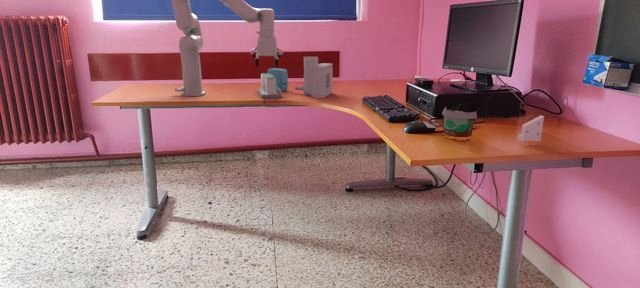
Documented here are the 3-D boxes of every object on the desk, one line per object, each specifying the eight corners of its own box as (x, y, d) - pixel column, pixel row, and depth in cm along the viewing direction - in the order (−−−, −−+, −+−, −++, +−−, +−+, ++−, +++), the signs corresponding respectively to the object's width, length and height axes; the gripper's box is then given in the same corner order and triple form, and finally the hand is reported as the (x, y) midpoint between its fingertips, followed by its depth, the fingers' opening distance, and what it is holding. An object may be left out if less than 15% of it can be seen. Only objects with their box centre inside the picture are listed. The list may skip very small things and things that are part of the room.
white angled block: (553, 138, 143) (544, 116, 141) (525, 153, 144) (515, 131, 142) (547, 135, 147) (538, 113, 145) (520, 150, 148) (510, 128, 146)
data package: (287, 90, 249) (287, 69, 246) (282, 91, 246) (281, 70, 243) (273, 88, 257) (273, 67, 254) (268, 89, 254) (267, 68, 250)
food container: (433, 136, 154) (435, 109, 152) (442, 133, 159) (444, 106, 156) (465, 143, 146) (468, 114, 143) (474, 140, 150) (477, 111, 147)
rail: (262, 98, 224) (261, 78, 221) (256, 92, 242) (256, 73, 239) (281, 97, 227) (281, 77, 224) (274, 91, 245) (274, 72, 242)
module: (265, 92, 230) (264, 76, 227) (262, 90, 237) (262, 74, 235) (274, 92, 231) (274, 76, 229) (271, 90, 238) (271, 74, 236)
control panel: (323, 98, 227) (323, 59, 221) (290, 95, 232) (289, 57, 227) (332, 93, 241) (333, 56, 236) (301, 91, 247) (301, 55, 242)
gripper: (250, 33, 220) (251, 67, 225) (284, 34, 224) (284, 67, 229) (249, 32, 227) (249, 65, 231) (281, 33, 231) (281, 66, 236)
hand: (266, 66), depth 230 cm, fingers open, 9 cm apart
